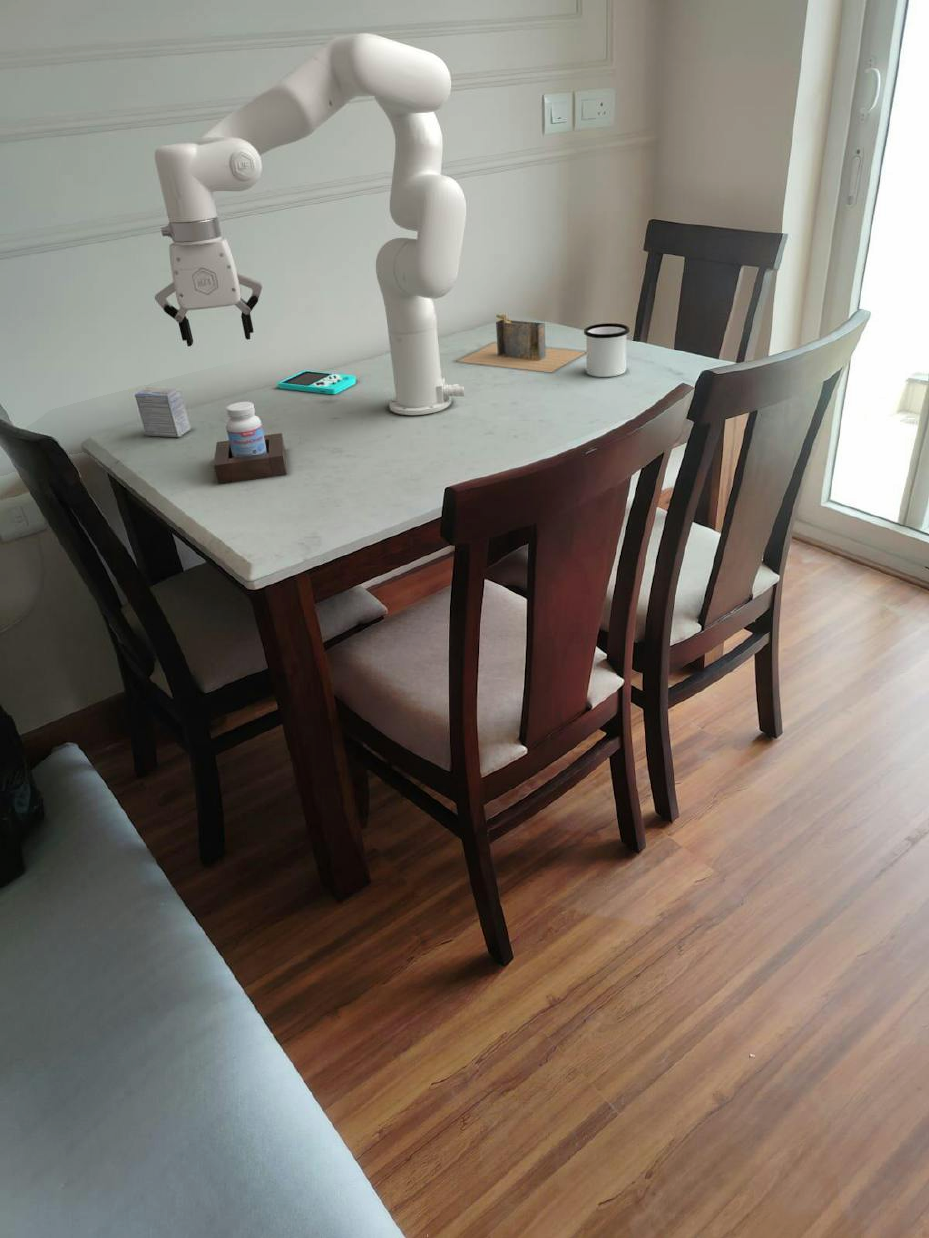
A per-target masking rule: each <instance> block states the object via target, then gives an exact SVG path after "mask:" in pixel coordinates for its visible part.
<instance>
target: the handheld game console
mask: <svg viewBox="0 0 929 1238" xmlns="http://www.w3.org/2000/svg"><path fill="white" fill-rule="evenodd" d="M356 382H357V381H356V376H355V375H353V374H344V373H333V372H332V373H331V372H324V371H314V370H302V371H300V372H298V373H296V374H294V375H292V376H289V377H287V378H285V379H283V380H281V381H278V382H277V386H278V389H281V390H291V391H300V392H309V393H315V394H316V393H317V394H318V393H319V394H326V395H327V394H328V395H337V394H339V393H340V392H343V391H345V390H346V389H349V388H350V387H353V386H354V385H355V384H356Z"/></svg>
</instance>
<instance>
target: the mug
mask: <svg viewBox="0 0 929 1238" xmlns="http://www.w3.org/2000/svg"><path fill="white" fill-rule="evenodd" d="M629 333H630V326H628V325H627V324H623V323H617V322H616V323H615V322H606V323H605V322H604V323H603V322H602V323H597V324H591V325H588V326H587V327H585V328H584V329H583V335H584V336H585V337H586V343H585V344H586V373H587V375H589V376H592V377H595V378H613V377H618V376H621V375H623V374H625V372H626V371H627V340H628V339H627V337H628V336H627V335H628V334H629Z"/></svg>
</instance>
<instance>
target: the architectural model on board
mask: <svg viewBox="0 0 929 1238" xmlns="http://www.w3.org/2000/svg"><path fill="white" fill-rule="evenodd" d="M495 317H496V318H498V319H500V320H497V321H496V322H495V331H496V342H494V343H492V344H489V345H487V346H486V347H483V348H481V349H478V350H477V351H475V352H473V353H470V354H469V355H467V356H465V357H463V358H461V359H458V360H457V362H458V363H467V364H474V365H475V364H477V365H483V366H484V365H485V366H493V367H500V368H501V367H502V368H508V369H517V370H518V369H519V370H526V371H527V370H528V371H534V372H535V371H536V372H544V373H553V372H555V371H557V370H558V369H560V368H561V367H563V366H565V365H567V364H569V363H570V362H572V361H574V360H575V359H577V358H579V357H581V356H583V355H584V354H587V351H580V350H569V349H559V348H550V347H546V324H545V322H537V321H525V320H515V319H509V318H507V316H506V314H504V313H501V314H499V313H495Z"/></svg>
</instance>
